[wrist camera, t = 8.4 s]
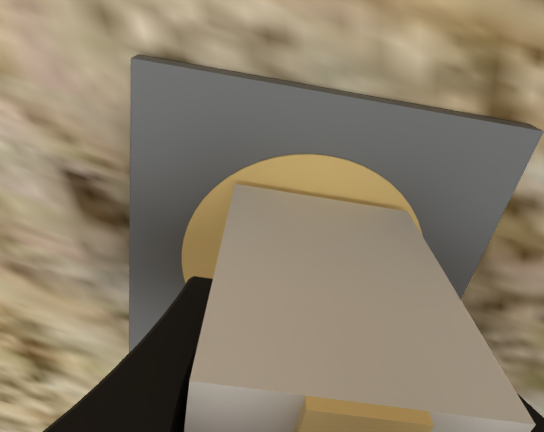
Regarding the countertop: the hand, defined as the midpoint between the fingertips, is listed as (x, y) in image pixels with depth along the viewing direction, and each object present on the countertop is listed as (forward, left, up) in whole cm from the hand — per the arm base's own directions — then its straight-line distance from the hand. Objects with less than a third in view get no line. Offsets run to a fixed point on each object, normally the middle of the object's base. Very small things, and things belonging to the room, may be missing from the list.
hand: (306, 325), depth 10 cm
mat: (0, 0, -3) cm, 3 cm away
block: (0, 0, -2) cm, 2 cm away
